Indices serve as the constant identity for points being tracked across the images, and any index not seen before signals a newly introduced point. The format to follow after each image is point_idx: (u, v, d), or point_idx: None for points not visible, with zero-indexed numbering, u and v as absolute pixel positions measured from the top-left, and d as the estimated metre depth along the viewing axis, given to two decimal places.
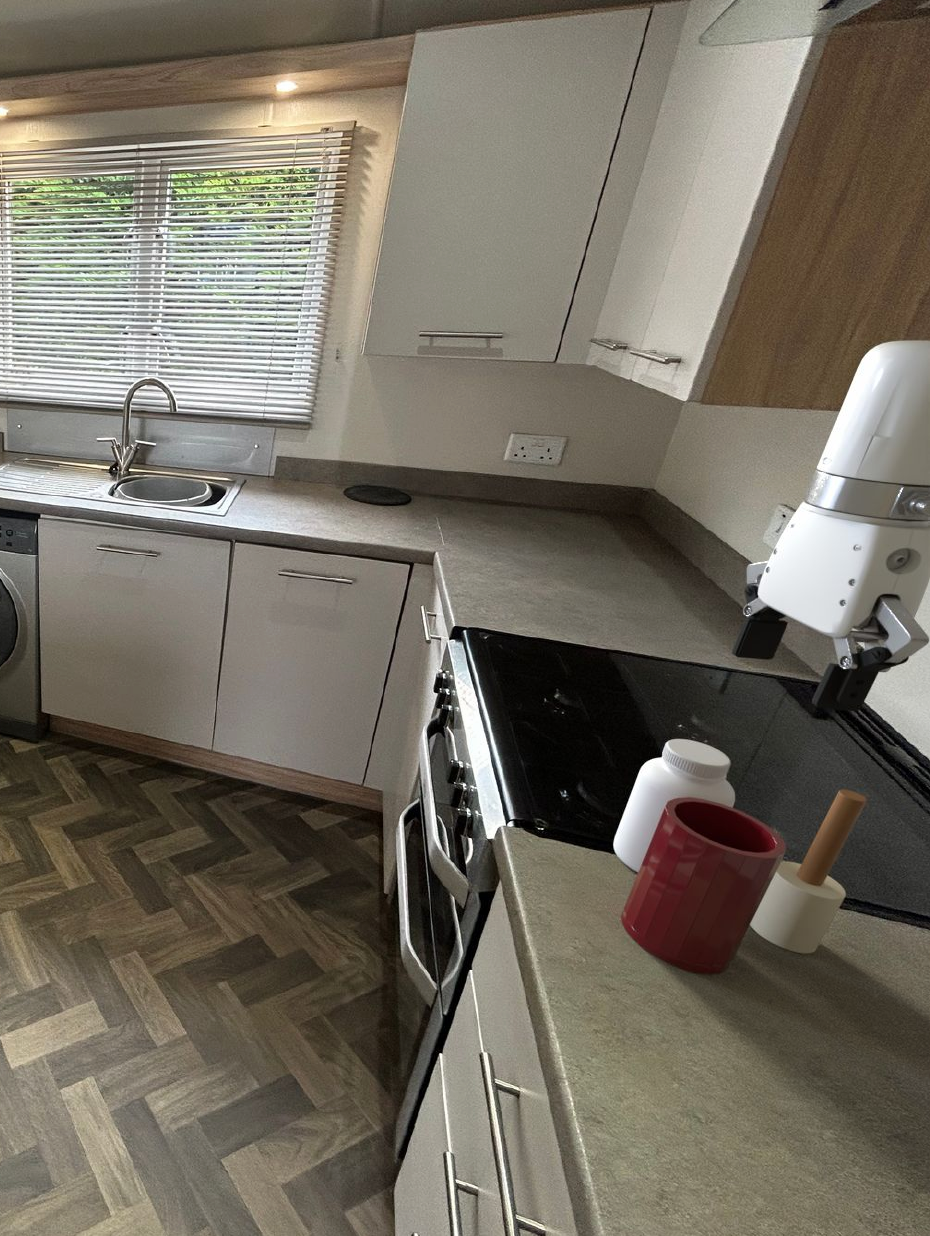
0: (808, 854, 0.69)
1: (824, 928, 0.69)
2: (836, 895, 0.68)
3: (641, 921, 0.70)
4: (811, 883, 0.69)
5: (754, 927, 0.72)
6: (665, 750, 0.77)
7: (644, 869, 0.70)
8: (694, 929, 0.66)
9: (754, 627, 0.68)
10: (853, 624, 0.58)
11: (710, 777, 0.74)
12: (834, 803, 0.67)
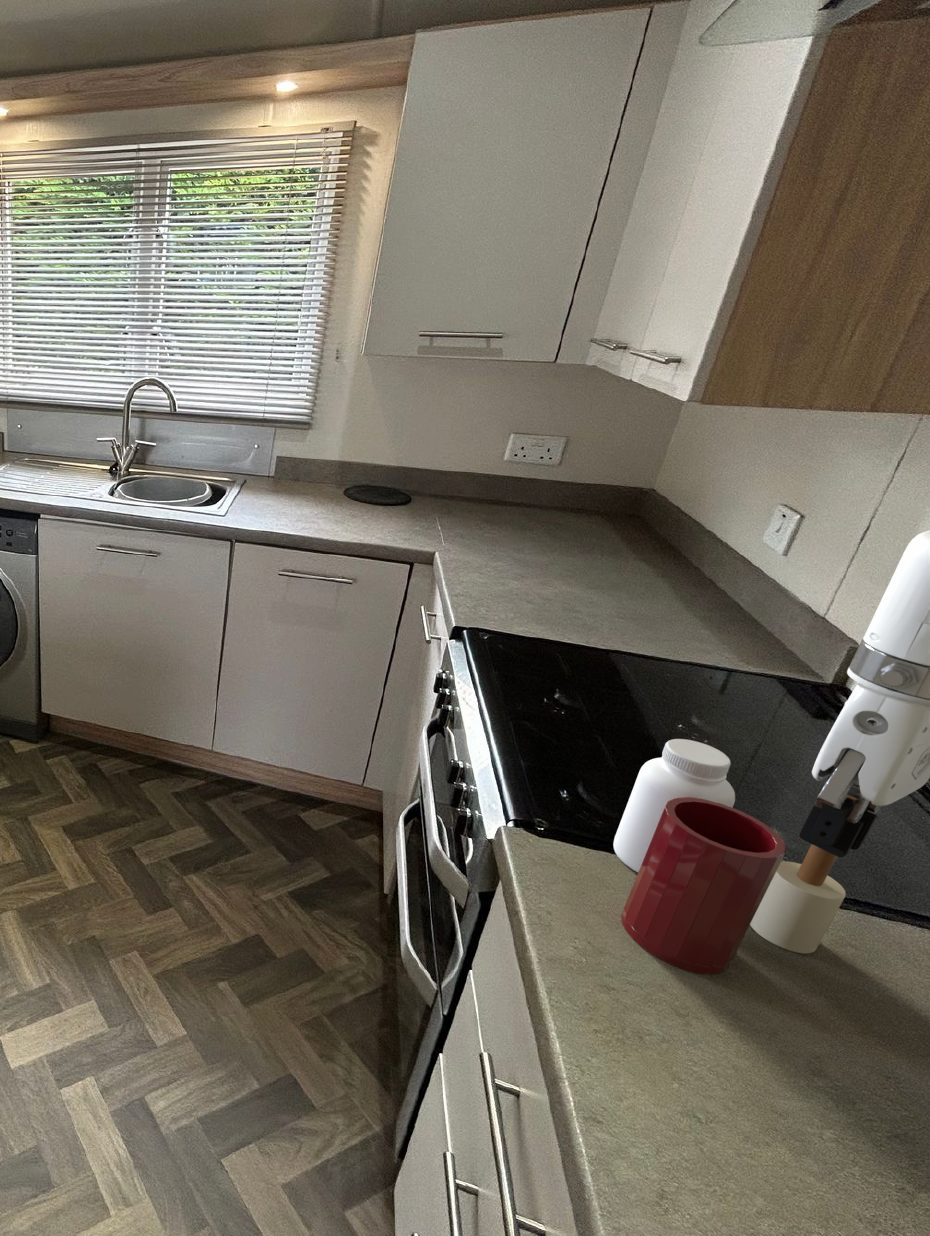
0: (808, 854, 0.69)
1: (824, 928, 0.69)
2: (836, 895, 0.68)
3: (641, 921, 0.70)
4: (811, 883, 0.69)
5: (754, 927, 0.72)
6: (665, 750, 0.77)
7: (644, 869, 0.70)
8: (694, 929, 0.66)
9: None
10: (819, 767, 0.64)
11: (710, 777, 0.74)
12: None
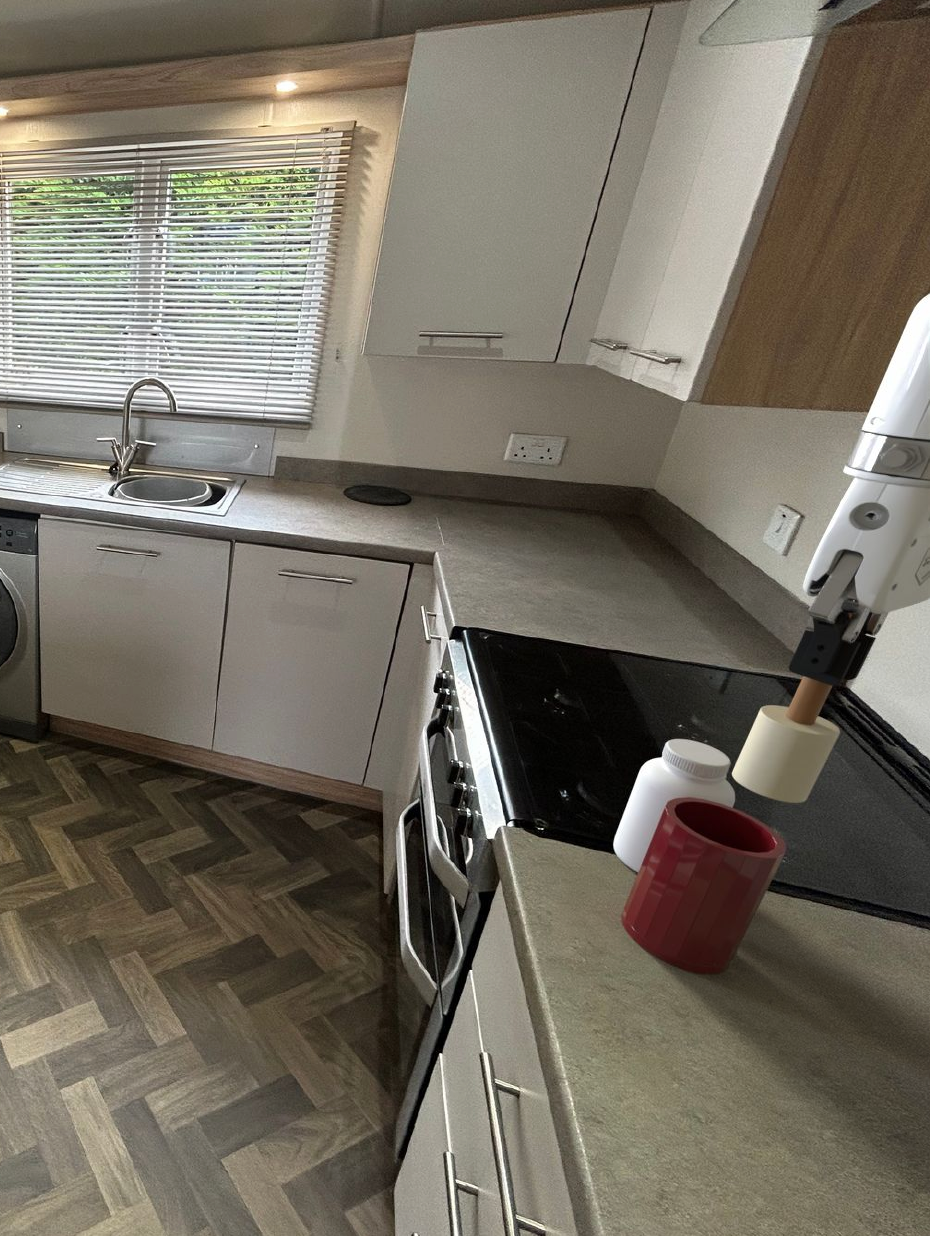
0: (798, 690, 0.62)
1: (815, 772, 0.61)
2: (829, 732, 0.60)
3: (641, 921, 0.70)
4: (801, 722, 0.61)
5: (738, 779, 0.65)
6: (665, 750, 0.77)
7: (644, 869, 0.70)
8: (694, 929, 0.66)
9: None
10: (811, 578, 0.57)
11: (710, 777, 0.74)
12: None
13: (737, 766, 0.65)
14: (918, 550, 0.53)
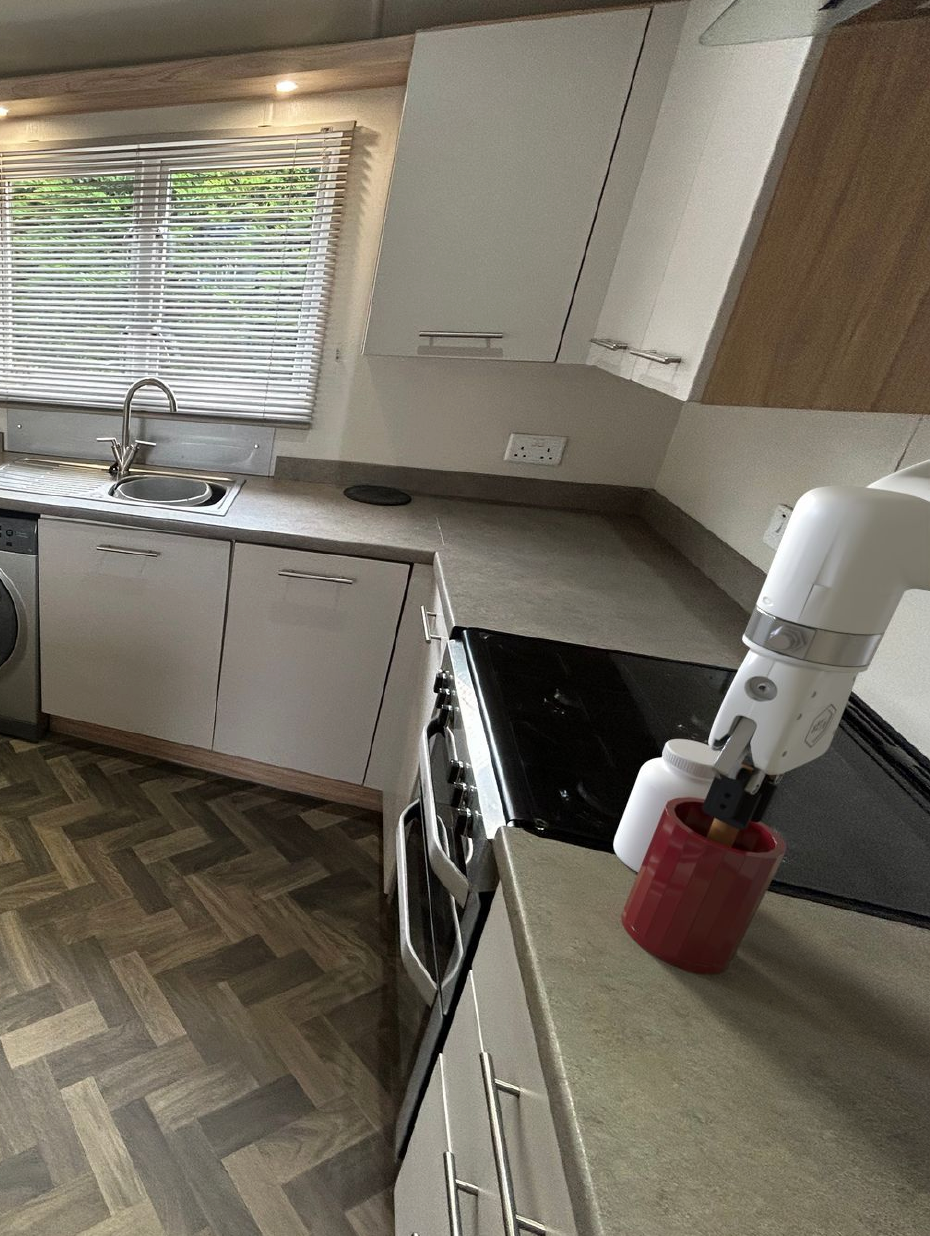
0: (711, 828, 0.67)
1: None
2: None
3: (641, 921, 0.70)
4: None
5: None
6: (665, 750, 0.77)
7: (644, 869, 0.70)
8: (694, 929, 0.66)
9: None
10: (714, 737, 0.62)
11: (710, 777, 0.74)
12: None
13: None
14: (804, 722, 0.58)
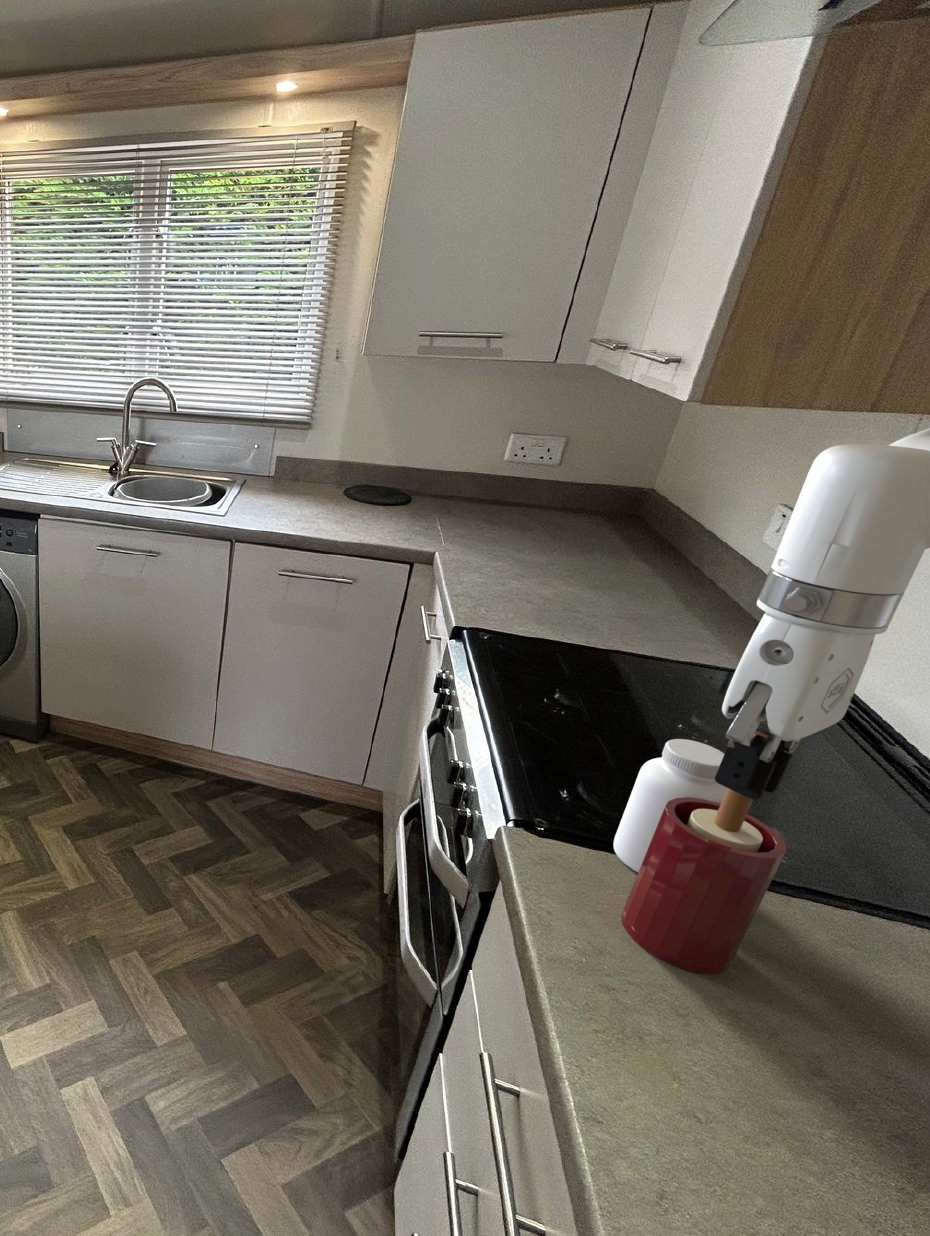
0: (724, 799, 0.66)
1: None
2: (752, 841, 0.64)
3: (641, 921, 0.70)
4: (727, 829, 0.65)
5: None
6: (665, 750, 0.77)
7: (644, 869, 0.70)
8: (694, 929, 0.66)
9: None
10: (728, 703, 0.61)
11: (710, 777, 0.74)
12: None
13: None
14: (821, 686, 0.57)
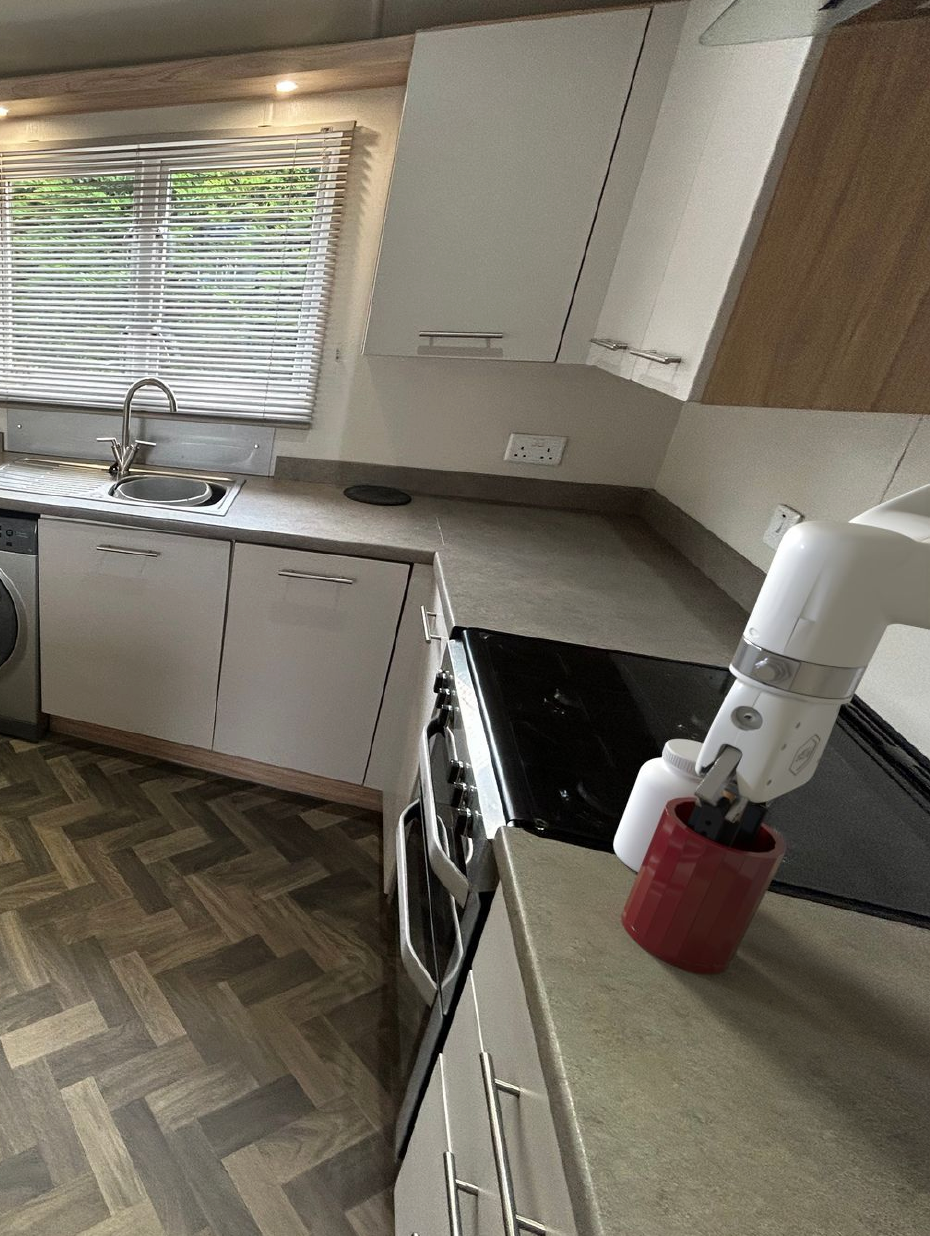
0: None
1: None
2: None
3: (641, 921, 0.70)
4: None
5: None
6: (665, 750, 0.77)
7: (644, 869, 0.70)
8: (694, 929, 0.66)
9: None
10: (701, 764, 0.63)
11: None
12: None
13: None
14: (789, 752, 0.59)
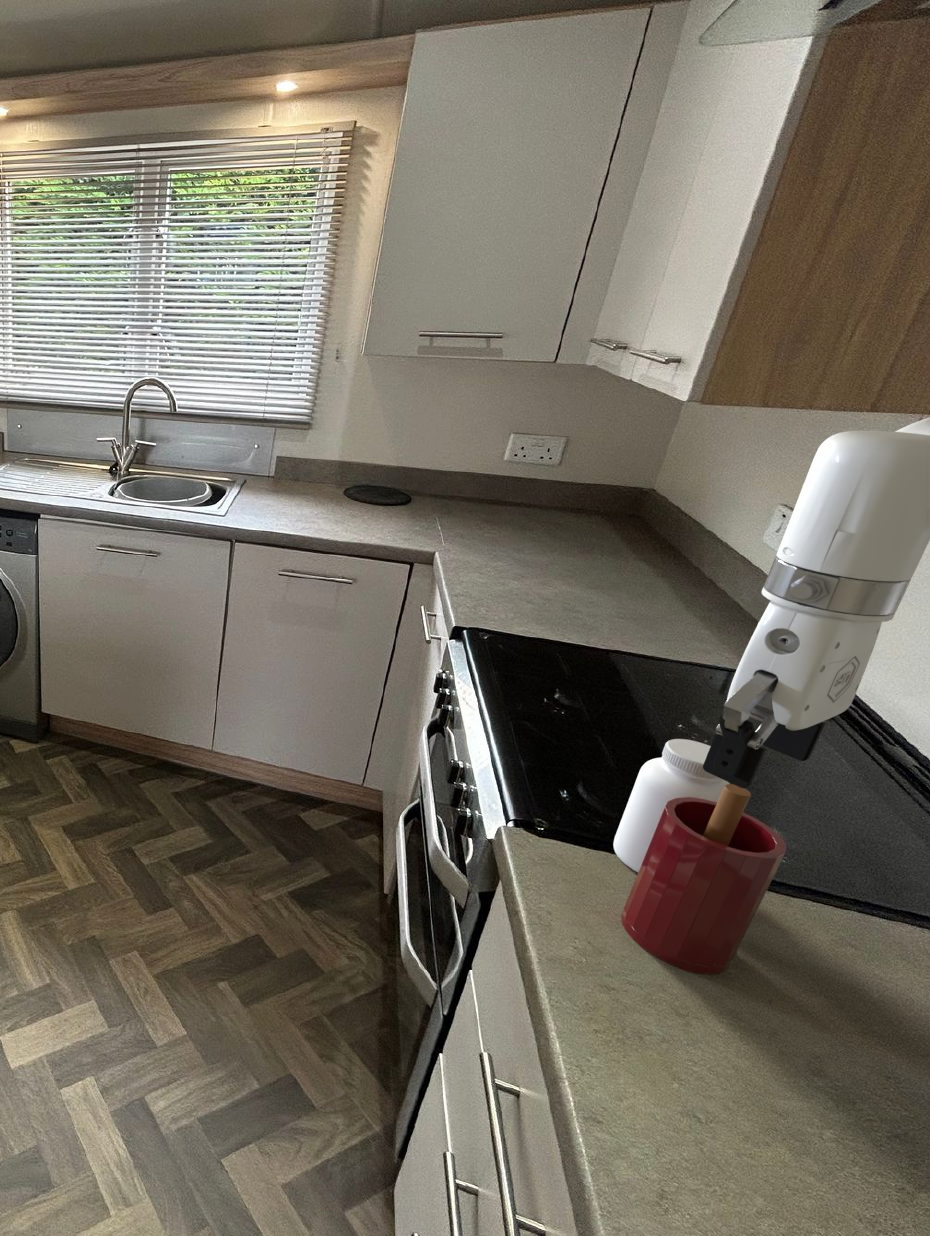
0: None
1: None
2: None
3: (641, 921, 0.70)
4: None
5: None
6: (665, 750, 0.77)
7: (644, 869, 0.70)
8: (694, 929, 0.66)
9: None
10: (734, 693, 0.60)
11: (710, 777, 0.74)
12: (720, 798, 0.66)
13: None
14: (827, 674, 0.56)
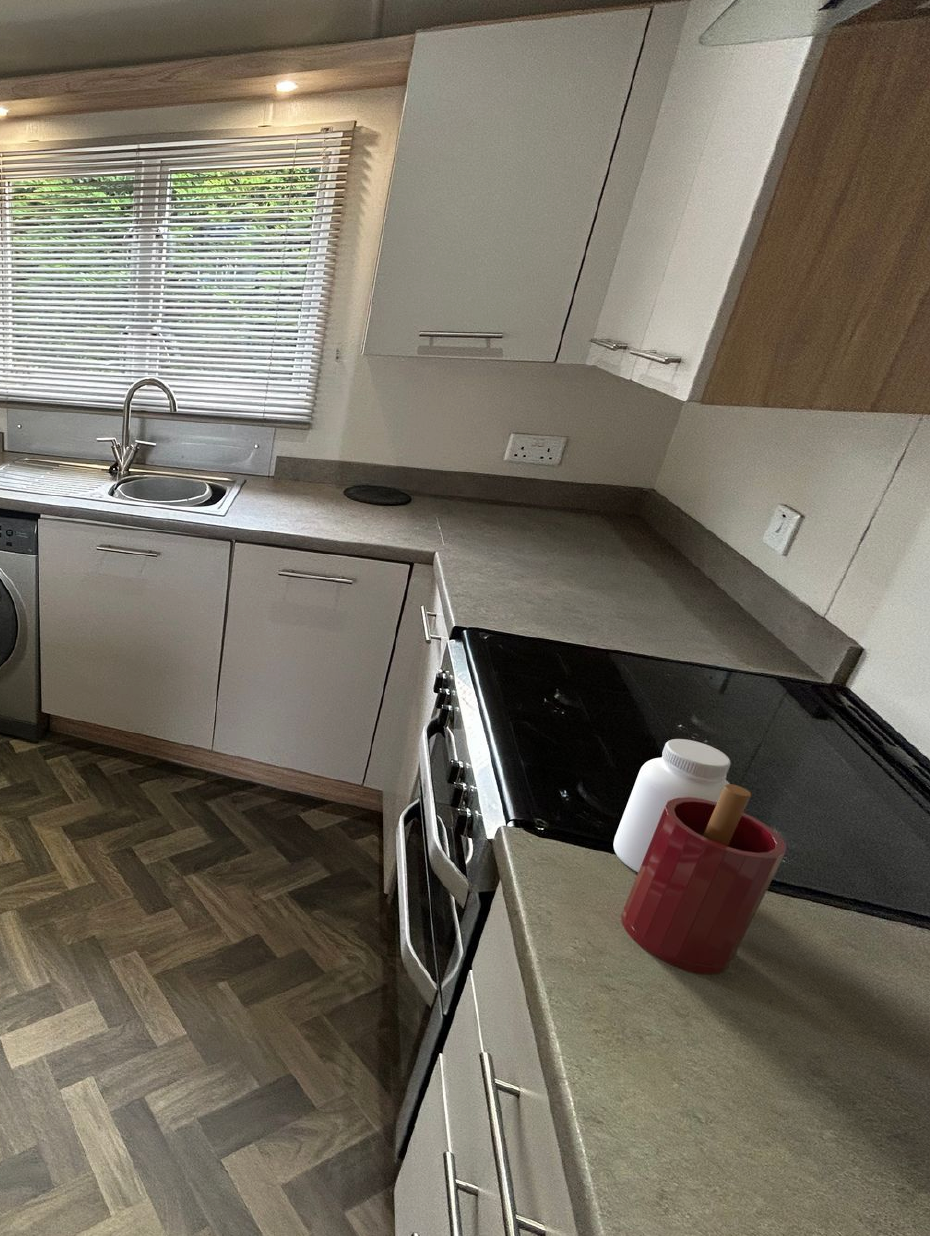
0: None
1: None
2: None
3: (641, 921, 0.70)
4: None
5: None
6: (665, 750, 0.77)
7: (644, 869, 0.70)
8: (694, 929, 0.66)
9: None
10: None
11: (710, 777, 0.74)
12: (720, 798, 0.66)
13: None
14: None
